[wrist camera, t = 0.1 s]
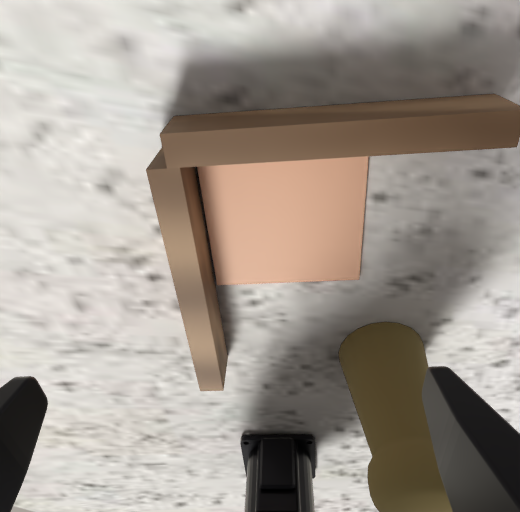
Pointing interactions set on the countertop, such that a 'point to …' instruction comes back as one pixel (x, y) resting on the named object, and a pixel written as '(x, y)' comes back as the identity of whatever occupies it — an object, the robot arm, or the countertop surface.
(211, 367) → the corner arena
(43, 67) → the countertop surface
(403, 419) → the olive pepper mill
